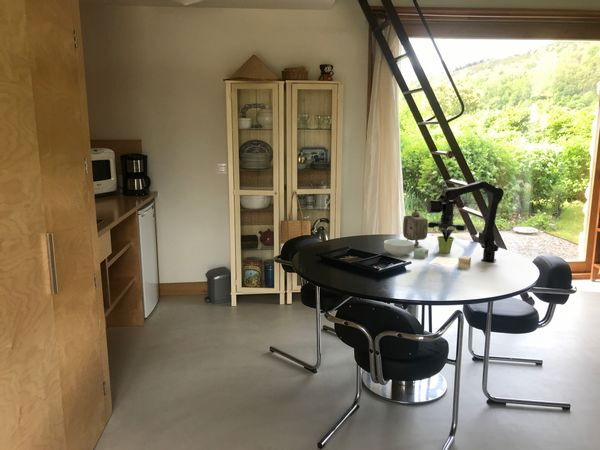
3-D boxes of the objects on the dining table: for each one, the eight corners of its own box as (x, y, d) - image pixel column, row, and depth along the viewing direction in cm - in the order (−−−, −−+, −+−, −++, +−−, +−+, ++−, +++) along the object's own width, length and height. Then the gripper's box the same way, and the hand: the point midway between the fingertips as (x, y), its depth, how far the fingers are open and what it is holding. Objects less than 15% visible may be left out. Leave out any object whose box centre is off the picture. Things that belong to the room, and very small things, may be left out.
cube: (460, 265, 249) (460, 255, 248) (470, 266, 246) (471, 257, 245) (457, 267, 244) (458, 258, 244) (468, 269, 242) (468, 259, 241)
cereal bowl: (405, 259, 259) (406, 246, 258) (378, 255, 269) (378, 242, 268) (418, 253, 272) (419, 241, 271) (391, 249, 282) (392, 237, 281)
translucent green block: (417, 255, 269) (417, 248, 269) (428, 256, 266) (428, 249, 265) (413, 257, 264) (413, 250, 263) (424, 259, 261) (424, 251, 260)
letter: (437, 256, 266) (437, 256, 266) (461, 259, 259) (461, 259, 259) (427, 263, 251) (427, 263, 251) (453, 267, 244) (453, 267, 244)
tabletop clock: (402, 242, 300) (404, 202, 296) (415, 241, 303) (417, 202, 299) (414, 247, 287) (416, 206, 282) (427, 246, 290) (429, 205, 285)
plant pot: (456, 253, 273) (457, 238, 272) (443, 254, 270) (444, 239, 268) (446, 249, 282) (447, 235, 280) (432, 251, 278) (433, 236, 277)
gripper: (425, 213, 249) (423, 242, 252) (461, 216, 239) (459, 247, 242) (432, 210, 258) (430, 238, 261) (467, 213, 248) (465, 242, 251)
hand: (446, 241), depth 254 cm, fingers closed
